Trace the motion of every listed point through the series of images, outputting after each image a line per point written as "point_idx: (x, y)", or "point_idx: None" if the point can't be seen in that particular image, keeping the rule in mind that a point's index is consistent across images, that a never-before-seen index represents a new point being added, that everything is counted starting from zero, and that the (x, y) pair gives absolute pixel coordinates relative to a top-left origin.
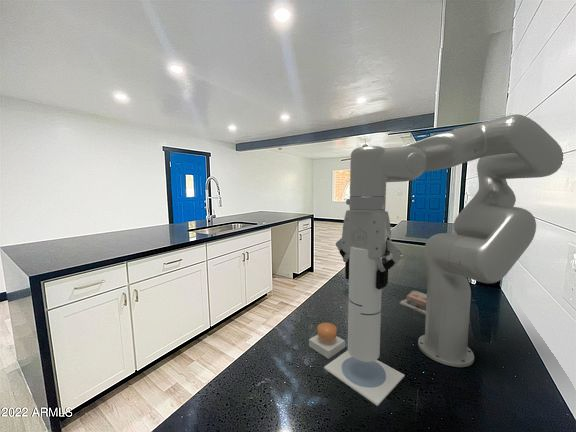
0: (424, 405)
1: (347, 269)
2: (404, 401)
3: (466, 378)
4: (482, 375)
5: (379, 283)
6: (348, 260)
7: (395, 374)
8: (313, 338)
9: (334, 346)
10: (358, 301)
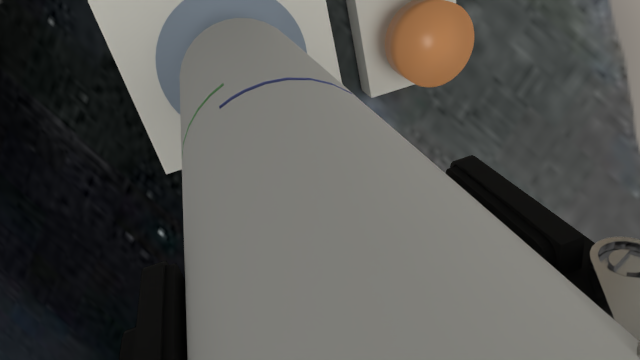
0: (47, 139)
1: (510, 205)
2: (79, 96)
3: (97, 313)
4: (92, 354)
5: (142, 307)
6: (591, 286)
7: (178, 150)
8: None
9: (366, 38)
10: (245, 99)
